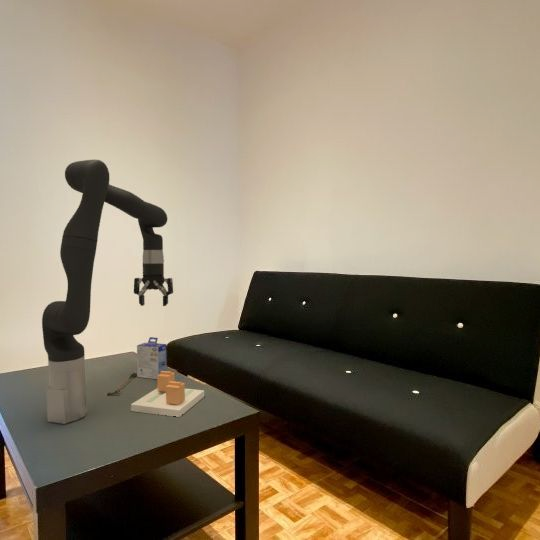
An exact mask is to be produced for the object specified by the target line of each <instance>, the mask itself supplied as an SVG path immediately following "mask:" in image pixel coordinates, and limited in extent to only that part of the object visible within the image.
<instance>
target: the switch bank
mask: <svg viewBox="0 0 540 540" xmlns="http://www.w3.org/2000/svg"><path fill="white" fill-rule="evenodd" d="M204 397H205V390H203V389H202V390H201V389H194V388H185V400H184V401H182V402H181V403H180V404H169V403H166V392H163V391H158V387H157V388H155V389H154V390H152V391H150V392H149V393H147V394H145V395H144V396H142V397H141V398H139V399H137V400H136V401H135V402H132V403H131V404H130V411H131V412H136V413H137V412H138V413H145V414H150V415H151V414H153V415H158V414H159V415H158V416H165V415H167V416H166V417H173V416H176V417H175V418H181V417H182V416H183V415H184V414H186V412H187V411H189V410H190V409H191V408H192V407H194V406H195V405H196V404H197V403H198V402H200V401H201V400H202V399H203V398H204ZM182 414H183V415H182Z"/></svg>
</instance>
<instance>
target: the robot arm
mask: <svg viewBox="0 0 540 540" xmlns="http://www.w3.org/2000/svg"><path fill="white" fill-rule="evenodd" d="M64 179H65V181H66V183H67V185H68V186H69V188H71V189H72V190H74V191H75V192H78V193H80V194H81V193H82V195H81V200H80V203H79V205H78V208H76V211H75V212H74V214H73V215H72V216H71V218H70V219H69V220H68V222H67V223H66V226H65V228H64V229H63V232H62V233H63V234H62V238H61V244H60V249H59V252H60V254H59V256H60V261H61V264H62V267H63V269H64V273H65V275H66V276H65V277H66V281H67V289H66V290H67V292H66V298H65V300H64V301H63V300H62V301H61V300H56V301H52V302H50V303H48V305H46V307H45V309H44V310H43V314H42V317H41V318H42V319H41V329H42V338H43V347H44V350H45V352H46V354H47V365H48V367H47V368H48V387H46V392H45V393H46V415H47V416H46V417H47V422H50V423H55V424H56V423H57V424H62V425H65V424H68V423H71V422H74V421H75V422H76V421H78V420H81V419H82V418H84V417H86V415H87V409H88V408H87V388H86V386H87V385H86V364H85V363H86V358H85V356H86V355H85V346H84V345H83V344H81V343H80V342H79V341H78V340H77V339H76V338H75V336H78V335H80V334H83V332H84V331H85V330H86V328H87V327H88V324H89V322H90V318H91V317H90V316H91V299H92V298H91V297H92V282H93V274H94V273H93V272H94V266H95V265H94V263H95V260H96V259H95V258H96V254H97V246H98V239H99V230H100V224H101V218H102V213H103V209H104V205H105V203H106V204H107V205H109V206H112V207H114V208H116V209H118V210H119V211H121V212H123V213H125V214H126V215H129V217H132V218H134V219H137V223H138V227H139V231H140V233H141V236H142V249H143V251H142V278H140V277H135V278H134V279H133V294H135V295H137V296H138V304H139V305H140V306H141V307H143V306H145V302H146V301H145V293H146V292H147V291H148V290H149V291H150V290H154V291H155V290H159V292H160V293H161V294H162V306H163V307H167V305H169V295H172V294H174V284H173V278H172V277H167V278H165V276H164V275H165V271H164V270H165V268H164V267H165V265H164V263H165V257H164V256H165V255H164V251H163V250H164V246H163V245H164V244H163V243H164V242H163V236H162V235H161V234H158V233H155V230H154V228H162V227H164V226H166V225H167V222H168V215H167V213H166V211H165V210H164V209H163V208H162V207H160V206H158V205H156V204H153V203H150V202H147V201H145V200H143V199H142V198H140V197H139V196H137V194H134V193H132V192H131V191H129V190H125V189H123V188H119V187H117V186H114V185H112V184H110V171H109V168H108V166H107V164H106V163H105V162H104V161H102V160H100V159H85V160H78V161H77V160H76V161H74V162H70V163H69V164H68V165H67V166H66V168H65V170H64ZM164 283H165V284H166V285H167V289H166V287H165V286H164ZM141 284H143V286H142V287H141ZM140 287H141V289H140Z"/></svg>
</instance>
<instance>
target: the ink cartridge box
mask: <svg viewBox="0 0 540 540" xmlns="http://www.w3.org/2000/svg"><path fill="white" fill-rule="evenodd" d="M158 339H159V338H158V337H151V336H149V338H148V341H147V342H143V343H139V344H137V345H136V373H137V375H136V377H137V378H145V379H153V380H157V375H159V374H160V372H161V371H167V367H168V365H167V344H166V343H158ZM151 340H152V341H151Z"/></svg>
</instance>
